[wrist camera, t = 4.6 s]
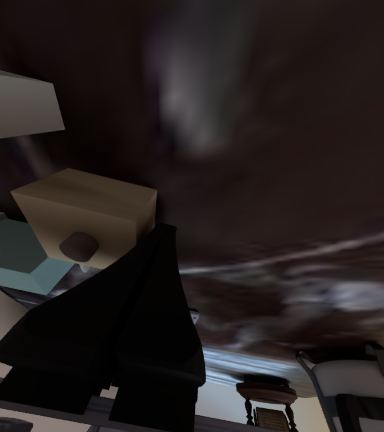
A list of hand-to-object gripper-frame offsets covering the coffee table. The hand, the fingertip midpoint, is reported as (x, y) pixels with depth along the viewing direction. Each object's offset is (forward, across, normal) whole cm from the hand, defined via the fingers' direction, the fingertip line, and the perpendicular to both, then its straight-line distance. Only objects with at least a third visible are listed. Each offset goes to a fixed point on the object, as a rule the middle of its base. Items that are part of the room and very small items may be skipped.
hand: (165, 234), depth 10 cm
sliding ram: (+1, +11, +5) cm, 12 cm away
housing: (+1, +4, 0) cm, 4 cm away
